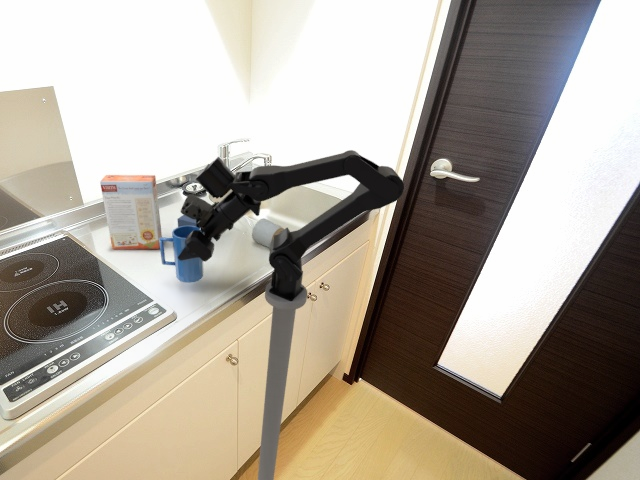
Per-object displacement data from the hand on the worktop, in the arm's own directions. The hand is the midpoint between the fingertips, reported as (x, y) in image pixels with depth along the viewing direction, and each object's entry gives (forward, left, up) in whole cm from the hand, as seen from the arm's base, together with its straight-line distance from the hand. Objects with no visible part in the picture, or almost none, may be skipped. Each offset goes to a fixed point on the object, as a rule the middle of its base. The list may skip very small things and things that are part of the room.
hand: (182, 251), depth 88 cm
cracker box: (+26, -7, -10) cm, 28 cm away
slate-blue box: (+15, -20, -10) cm, 27 cm away
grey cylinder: (-5, -33, -10) cm, 35 cm away
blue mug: (0, 0, -7) cm, 7 cm away
